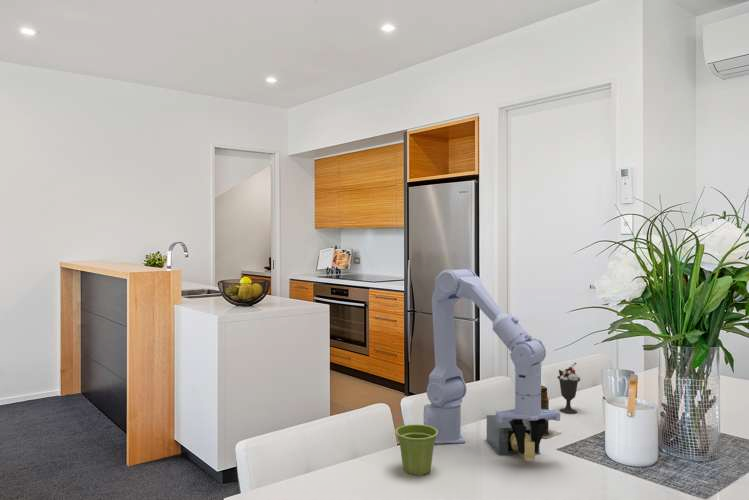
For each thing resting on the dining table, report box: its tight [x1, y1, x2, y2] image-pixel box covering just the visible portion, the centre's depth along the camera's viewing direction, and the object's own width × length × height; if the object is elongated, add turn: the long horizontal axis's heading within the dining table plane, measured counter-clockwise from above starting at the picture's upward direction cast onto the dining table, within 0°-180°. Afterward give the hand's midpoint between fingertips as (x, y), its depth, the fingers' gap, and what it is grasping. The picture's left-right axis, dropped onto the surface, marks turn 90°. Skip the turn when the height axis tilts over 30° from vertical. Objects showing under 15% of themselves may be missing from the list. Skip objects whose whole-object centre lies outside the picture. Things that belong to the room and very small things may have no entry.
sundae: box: [556, 362, 581, 415], centre depth 165 cm, size 7×7×15 cm
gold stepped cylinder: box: [508, 430, 536, 461], centre depth 130 cm, size 5×13×5 cm, turn 5°
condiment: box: [541, 385, 561, 439], centre depth 146 cm, size 7×8×12 cm
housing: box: [486, 414, 540, 456], centre depth 135 cm, size 10×10×6 cm
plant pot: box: [394, 424, 438, 476], centre depth 121 cm, size 9×9×9 cm
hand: (527, 452), depth 125 cm, fingers closed on gold stepped cylinder, 2 cm apart
